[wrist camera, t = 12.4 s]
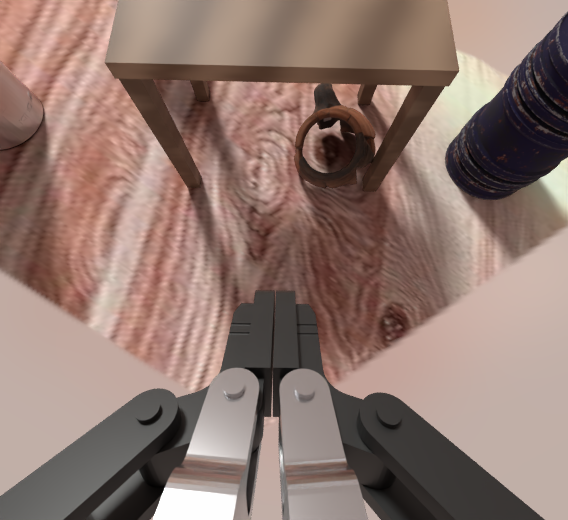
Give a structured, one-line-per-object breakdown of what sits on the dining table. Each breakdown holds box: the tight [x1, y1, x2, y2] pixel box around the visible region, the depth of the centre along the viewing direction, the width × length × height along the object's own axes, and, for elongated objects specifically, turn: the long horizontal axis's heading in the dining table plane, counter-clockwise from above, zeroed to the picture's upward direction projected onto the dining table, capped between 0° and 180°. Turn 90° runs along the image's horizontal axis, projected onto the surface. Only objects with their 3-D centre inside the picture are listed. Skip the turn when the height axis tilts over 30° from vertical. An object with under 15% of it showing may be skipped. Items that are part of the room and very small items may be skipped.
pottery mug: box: [294, 83, 375, 188], centre depth 33 cm, size 12×10×8 cm
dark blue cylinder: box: [445, 12, 568, 200], centre depth 28 cm, size 10×10×15 cm
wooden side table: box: [105, 0, 459, 191], centre depth 28 cm, size 23×14×16 cm, turn 89°
